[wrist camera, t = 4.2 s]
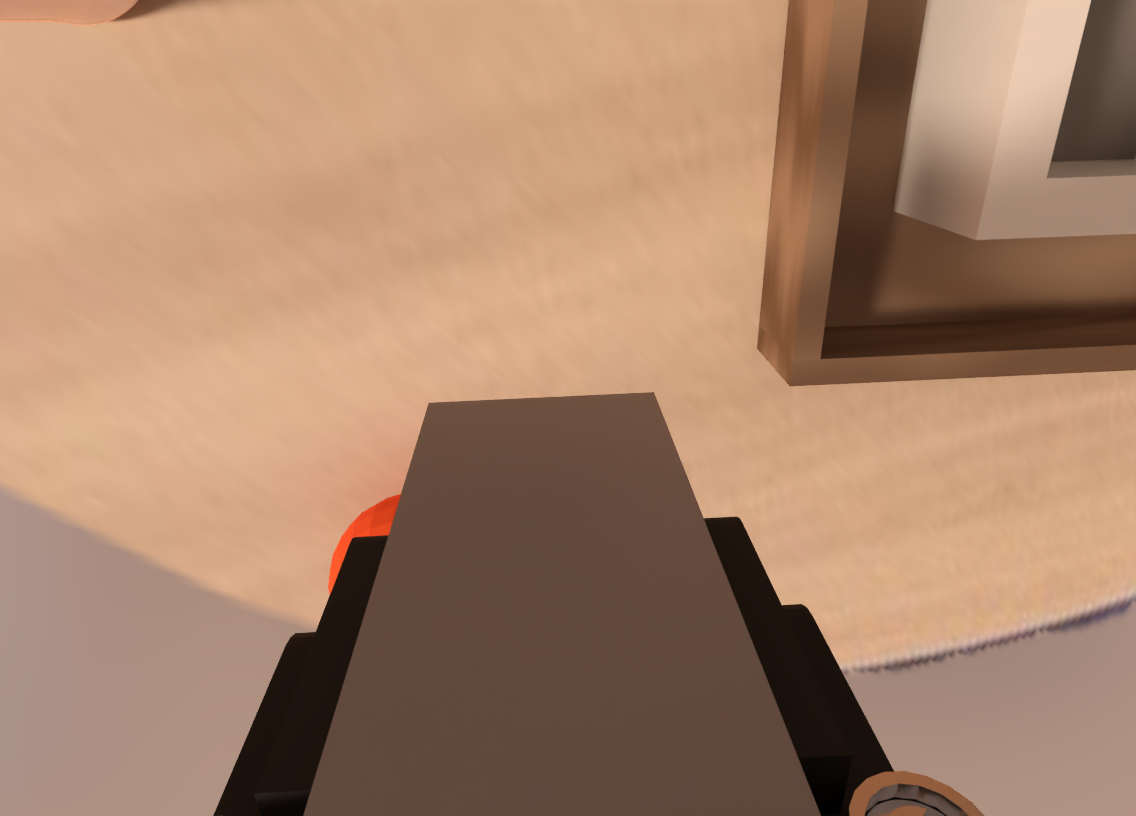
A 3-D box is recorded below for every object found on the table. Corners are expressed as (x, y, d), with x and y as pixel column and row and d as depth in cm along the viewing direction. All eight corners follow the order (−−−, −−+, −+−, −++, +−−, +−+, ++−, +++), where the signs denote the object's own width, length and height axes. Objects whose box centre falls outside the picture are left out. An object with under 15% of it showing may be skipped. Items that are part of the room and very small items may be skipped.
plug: (428, 402, 12) (20, 1745, 2) (654, 392, 12) (1139, 1625, 3) (451, 582, 14) (267, 1793, 4) (649, 571, 14) (927, 1719, 4)
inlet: (939, -76, 22) (1054, -120, 18) (1209, -83, 23) (1396, -128, 18) (892, 210, 26) (976, 239, 21) (1125, 202, 27) (1259, 228, 22)
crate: (807, -205, 21) (865, -264, 18) (1432, -217, 22) (1609, -275, 18) (757, 348, 29) (789, 386, 25) (1222, 327, 30) (1318, 361, 26)
